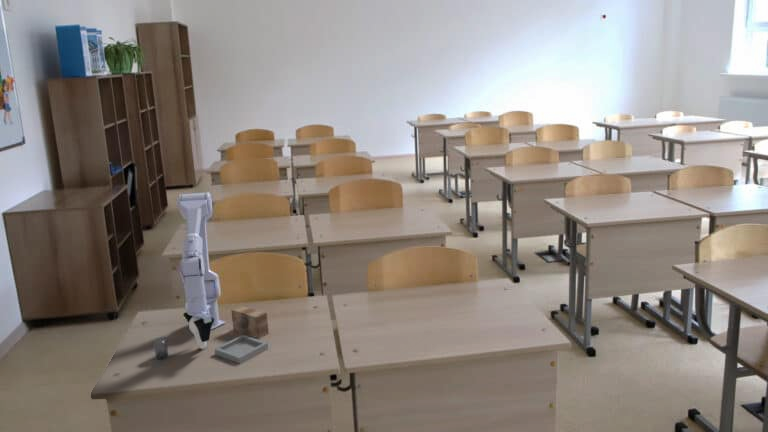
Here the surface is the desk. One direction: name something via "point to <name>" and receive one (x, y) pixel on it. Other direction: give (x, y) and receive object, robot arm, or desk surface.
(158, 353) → the fuse
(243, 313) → the lamp housing
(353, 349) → the desk surface
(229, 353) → the tray
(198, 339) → the lightbulb
